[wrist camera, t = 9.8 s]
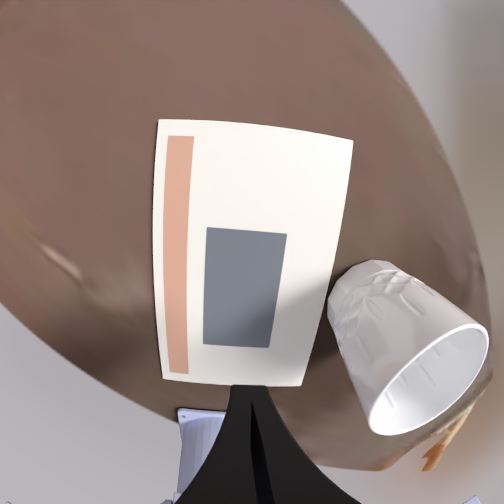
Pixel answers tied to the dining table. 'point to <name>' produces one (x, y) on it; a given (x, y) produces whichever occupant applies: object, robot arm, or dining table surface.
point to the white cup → (402, 345)
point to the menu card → (243, 248)
